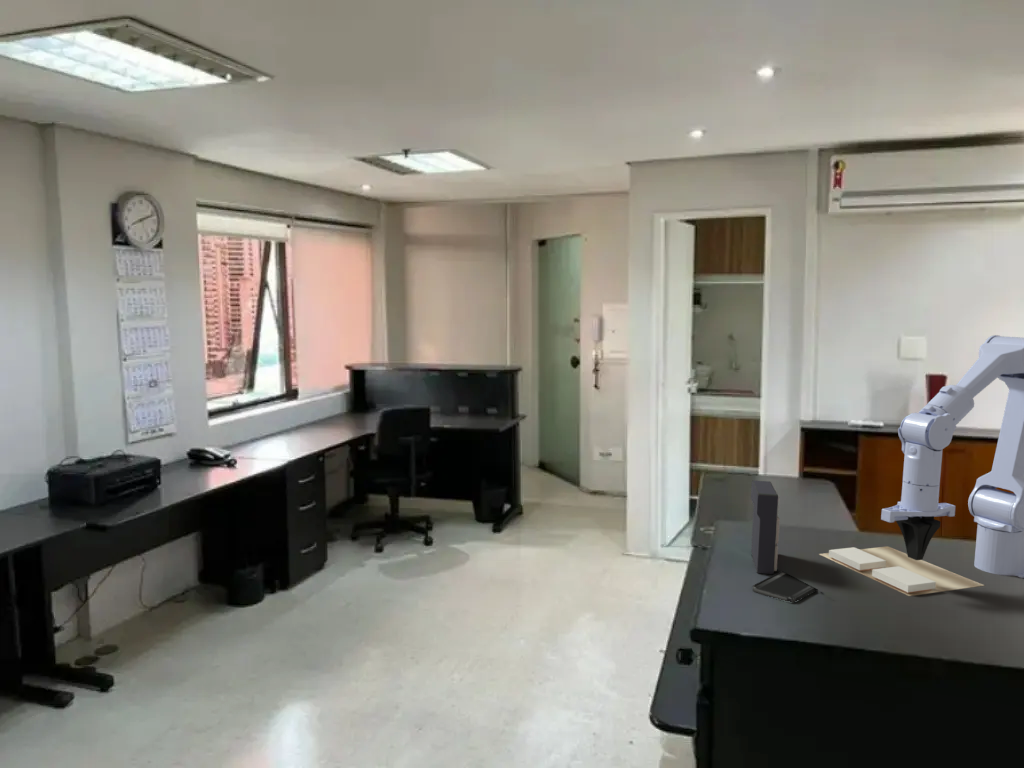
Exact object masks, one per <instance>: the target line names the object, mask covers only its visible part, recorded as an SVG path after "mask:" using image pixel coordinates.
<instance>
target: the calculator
mask: <svg viewBox="0 0 1024 768" xmlns="http://www.w3.org/2000/svg"><path fill="white" fill-rule="evenodd" d="M750 489H751V490H750V491H751V493H750V500H751V502H752V504H753V512H752V513H753V514H752V530H751V549H750V550H751V551H750V552H751V559H752V562H753V565H754V568H755V570H756V571H755V572H756V573H757V574H762V575H763V574H766V575H775V572H777V569H778V558H779V557H778V556H779V555H778V553H779V552H778V551H779V547H778V544H779V536H780V535H779V534H780V518H779V515H780V502H781V500H780V495H779V493H778V491H777V489H776V488H775V486H774V484H773V483H772V481H767V480H752V481H751V487H750Z"/></svg>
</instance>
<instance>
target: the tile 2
mask: <svg viewBox="0 0 1024 768" xmlns="http://www.w3.org/2000/svg"><path fill="white" fill-rule="evenodd" d="M872 576H873V577H875V579H877V580H879V581H882V582H884V583H886V584H888V585H890V586H892V587H895V588H897V589H899V590H901V591H903V592H905V593H915V592H922V591H929V590H931V589H935V585H936V582H935V581H933V580H930V579H928V578H925V577H923V576H921V575H918V574H916V573H914V572H911V571H909V570H907V569H904V568H902V567H900V566H897V567H888V568H880V569H872Z"/></svg>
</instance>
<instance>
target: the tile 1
mask: <svg viewBox="0 0 1024 768" xmlns="http://www.w3.org/2000/svg"><path fill="white" fill-rule="evenodd" d="M828 553H829V556H830V557H832V559H834V560H836V561H838V562H840V563H842V564H845V565H847V566H849V567H851V568H853V569H855V570H858V571H867V570H872V569H880V568H882V567H886V561H885V560H883V559H881V558H878V557H876V556H874V555H871V554H869V553H867V552H864V551H862V550H859V548H857V547H845V548H844V547H843V548H834V549H828Z"/></svg>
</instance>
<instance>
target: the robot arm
mask: <svg viewBox="0 0 1024 768" xmlns="http://www.w3.org/2000/svg"><path fill="white" fill-rule="evenodd" d="M996 379H999V380H1000V381H1001V382H1004V383H1005V385H1006V386H1007V388H1008V394H1007V399H1006V402H1005V407H1004V413H1003V417H1002V422H1001V426H1000V430H999V434H998V438H997V444H996V447H995V453H994V458H993V463H992V467H991V471H989V472H988V473H987V472H986V473H985V474H983V475H981V476H979V477H978V478H976V482H975V485H974V487H973V489H972V491H971V493H970V494H969V497H968V500H967V502H968V503H967V505H968V510H969V513H970V515H971V516H972V517H974V518H973V522H974V523H976V524H977V528H976V538H975V539H976V540H975V541H976V542H975V550H974V551H975V552H974V563H973V565H974V568H976V569H978V570H980V571H982V572H986V573H989V574H993V575H999V576H1016V577H1018V578H1022V579H1023V578H1024V337H1023V336H1022V337H1021V336H1017V337H1016V336H1004V335H998V334H993V335H991V336H988V338H986V339H985V341H984V343H982V344H981V345H980V346H979V349H978V358H977V360H976V361H975V362H974V363H973V364H972V365H971V367H970V368H969V369H968V370H967V371H966V372H965V374H964V375H963V376H962V377H961V378H960V380H959V381H958V383H956V384H949V385H945V386H942V387H941V388H940V389H939V391H938V392H937V393H936V394H935V395H934V397H932V399H930V401H928V403H926V404H925V405H924V406H923V407H922V408H921V409H920V410H919V411H918V412H911V413H910V414H909V415H906V416H905V417H904V418H903V419H902V421H901V423H900V424H899V425H900V426H899V427H898V428H897V433H898V437H899V440H900V442H901V451H902V453H903V454H904V457H903V458H904V459H903V460H904V461H903V471H902V486H901V496H900V501H897V504H895V505H893V506H890V507H885V508H882V509H881V513H880V514H881V515H880V520H881V521H884V522H887V523H889V524H890V523H895V522H896V524H897V525H898V526H897V527H899V530H900V532H901V534H902V537H903V540H904V544H905V548H906V554H907V555H908V557H909V558H912V559H914V560H923V559H924V557H925V554H926V551H927V549H928V546H929V544H930V542H931V540H932V538H933V537H934V535H935V534H936V532H937V531H938V530H939V529H940V528H941V521H940V520H937V519H935V517H936V518H937V517H945V516H947V517H949V518H951V517H956V516H955V515H956V505H954V504H951V503H947V502H940V503H939V497H940V485H941V473H942V461H943V449H945V448H946V447H948V446H949V445H950V443H952V439H953V436H954V432H955V431H956V430H957V425H958V424H959V423H960V422H961V421H962V420H963V419H964V418H965V417H966V416H967V415H969V413H970V412H971V411H973V409H974V407H975V400H974V398H975V397H976V396H977V395H979V394H980V393H981V392H982V391H984V390H985V389H986V388H987V387H988V386H989V385H991V384H992V383H993V382H994V381H995V380H996ZM998 488H1000V489H998ZM1002 489H1003V490H1002ZM1005 490H1007V491H1005ZM1008 491H1010V492H1008Z"/></svg>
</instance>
